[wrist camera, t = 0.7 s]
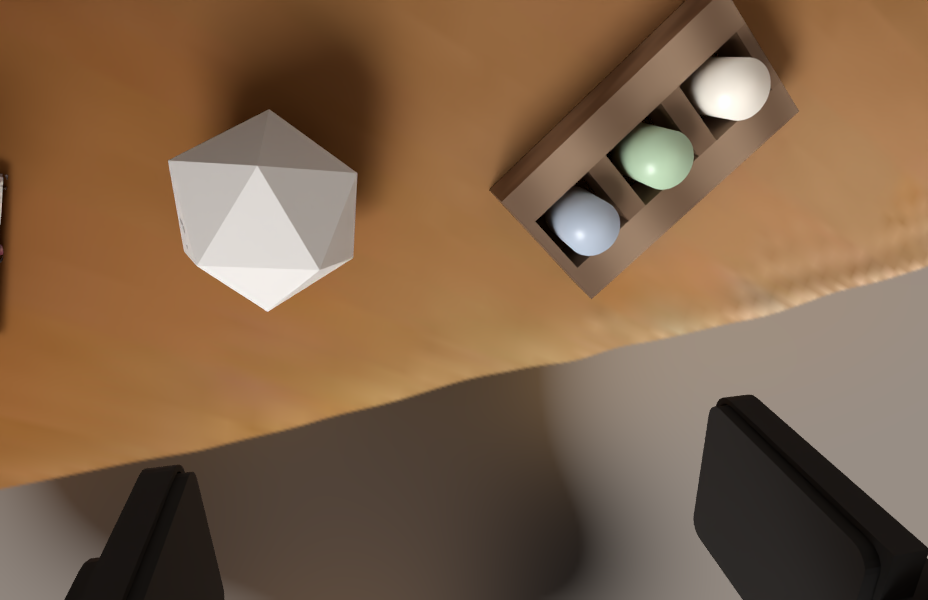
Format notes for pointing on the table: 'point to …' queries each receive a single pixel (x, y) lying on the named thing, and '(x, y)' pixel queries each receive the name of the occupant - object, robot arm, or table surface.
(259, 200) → the die
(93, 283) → the table surface
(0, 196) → the statue
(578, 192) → the slate blue button
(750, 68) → the cream button
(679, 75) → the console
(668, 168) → the sage button
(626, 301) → the table surface
